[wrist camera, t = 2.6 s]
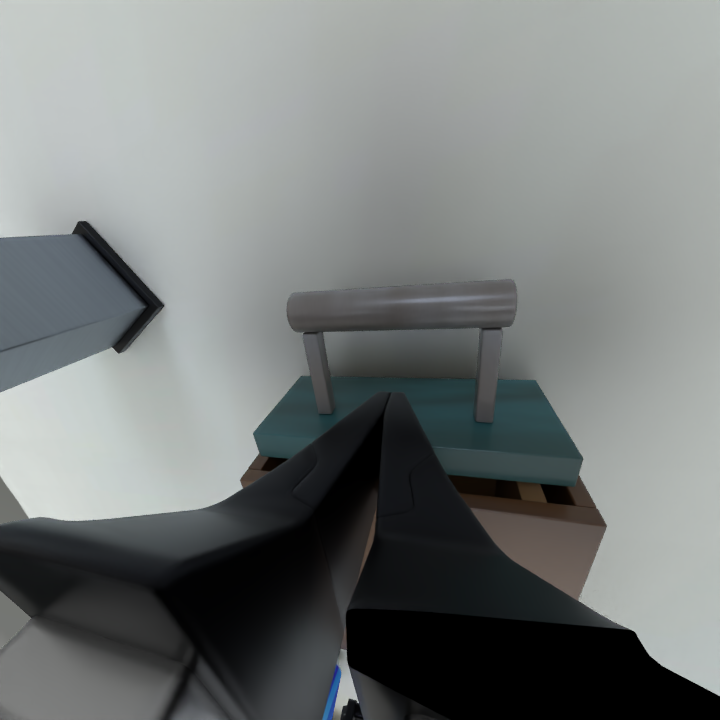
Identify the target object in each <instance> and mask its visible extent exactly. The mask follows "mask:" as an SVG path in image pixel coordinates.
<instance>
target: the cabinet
mask: <svg viewBox="0 0 720 720" xmlns="http://www.w3.org/2000/svg"><path fill="white" fill-rule="evenodd" d="M287 460H288V459H285V458H275V457H265V456H261V455H260V453H259V455H258V456H257V457H256V459H255V460H254V461H253V463H252V464H251V465H250V467H249V469H248V470H247V471H246V472H245V474H244V475H243V477H242V478H241V480H240V481H241V484H242V486H243V488H245V487H246V486H248V485H250V484H251V483H253V482H254V481H256V480H258V479H259V478H261V477H262V476H264V475H265V474H267V473H269V472H270V471H272V470H273V469H275V468H276V467H278V466H279V465H281V464H282V463H284V462H285V461H287ZM540 485H541V488H542V490H543V493H544V495H545V498H546V501H547V503H545V502H536V501H527V500H518V499H509V498H500V497H491V496H483V495H474V494H465V493H459V494H460V495H461V497H462V498H463V500H464V501H465V502H466V504H467V505H468V507H469V508H470V509H471V511H472V512H473V513H474V515H475V516H476V518H477V519H478V520H479V522H480V523H481V525H482V526H483V527H484V529H485V530H486V532H487V533H488V534H489V536H490V537H491V538H492V540H493V541H494V542H495V544H496V545H497V546H498V547H499V548H500V549H501V550H502V551H503V552H504V553H505V554H506V555H507V556H508V557H509V558H510V559H512V560H513V561H514V562H516V563H517V564H519V565H521V566H522V567H524V568H525V569H527V570H529V571H530V572H532V573H534V574H535V575H537V576H538V577H540V578H542V579H543V580H545V581H547V582H548V583H550V584H551V585H553V586H555V587H556V588H558V589H559V590H561V591H563V592H564V593H566V594H568V595H569V596H571V597H572V598H574V599H576V600H577V601H578V599H579V597H580V594H581V592H582V589H583V587H584V584H585V581H586V579H587V576H588V574H589V571H590V568H591V566H592V563H593V561H594V558H595V556H596V553H597V550H598V548H599V545H600V543H601V540H602V538H603V535H604V532H605V530H606V527H607V525H606V523H605V521H604V519H603V518H602V516H601V514H600V512H599V510H598V509H596V505H595V503H594V502H593V500H592V498H591V496H590V494H589V493H588V491H587V489H586V487H585V485H584V484H583V482H582V480H581V478H580V476H579V475H578V478H577V482H576V485H575V487H569V486H558V485H548V484H540ZM376 510H377V506H376ZM376 510H375V514H374V518H373V522H372V526H371V530H370V534H369V538H368V542H367V545H366V549H365V553H364V557H363V561H362V565H361V569H360V573H359V577H360V575H361V572H362V570H363V567H364V564H365V562H366V559H367V556H368V554H369V551H370V549H371V546H372V543H373V540H374V534H375V524H376ZM359 577H358V580H359ZM357 583H358V581H357ZM344 630H345V632H344V636H343V640H342V644H341V648H340V649H344V650H347V640H346V628H345V629H344Z"/></svg>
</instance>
